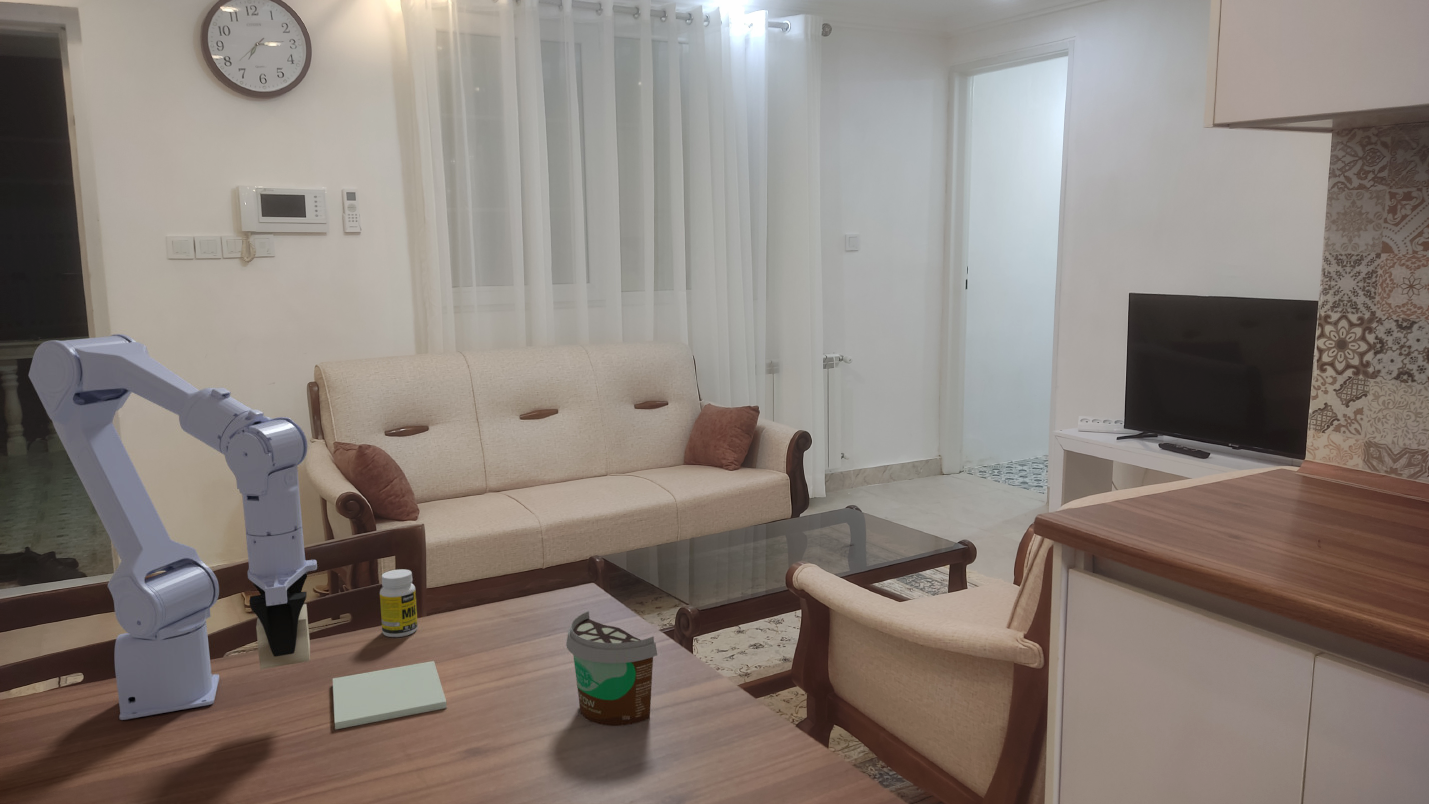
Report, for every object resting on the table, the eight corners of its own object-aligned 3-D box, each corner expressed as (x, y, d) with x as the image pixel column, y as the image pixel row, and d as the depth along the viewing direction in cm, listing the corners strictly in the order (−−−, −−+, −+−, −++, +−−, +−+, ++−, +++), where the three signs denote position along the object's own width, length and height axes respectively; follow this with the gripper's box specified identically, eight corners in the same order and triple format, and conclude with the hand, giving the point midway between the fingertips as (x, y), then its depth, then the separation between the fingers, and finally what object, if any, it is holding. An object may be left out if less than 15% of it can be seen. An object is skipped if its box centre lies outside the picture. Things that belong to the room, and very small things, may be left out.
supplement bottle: (406, 639, 127) (402, 580, 126) (375, 636, 128) (371, 578, 127) (424, 625, 132) (420, 569, 131) (394, 623, 133) (390, 567, 132)
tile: (335, 729, 103) (334, 722, 103) (333, 684, 114) (332, 678, 114) (446, 707, 108) (446, 701, 107) (434, 666, 119) (434, 660, 118)
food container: (546, 707, 108) (543, 625, 106) (588, 688, 112) (585, 609, 110) (617, 743, 99) (614, 655, 98) (659, 722, 104) (657, 637, 102)
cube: (260, 669, 102) (256, 626, 102) (262, 652, 107) (258, 610, 106) (309, 661, 104) (305, 618, 103) (309, 644, 109) (306, 603, 108)
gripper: (313, 541, 98) (323, 663, 100) (313, 508, 111) (322, 616, 113) (238, 550, 95) (250, 675, 98) (248, 515, 109) (258, 626, 111)
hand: (284, 644), depth 105 cm, fingers closed on cube, 5 cm apart
